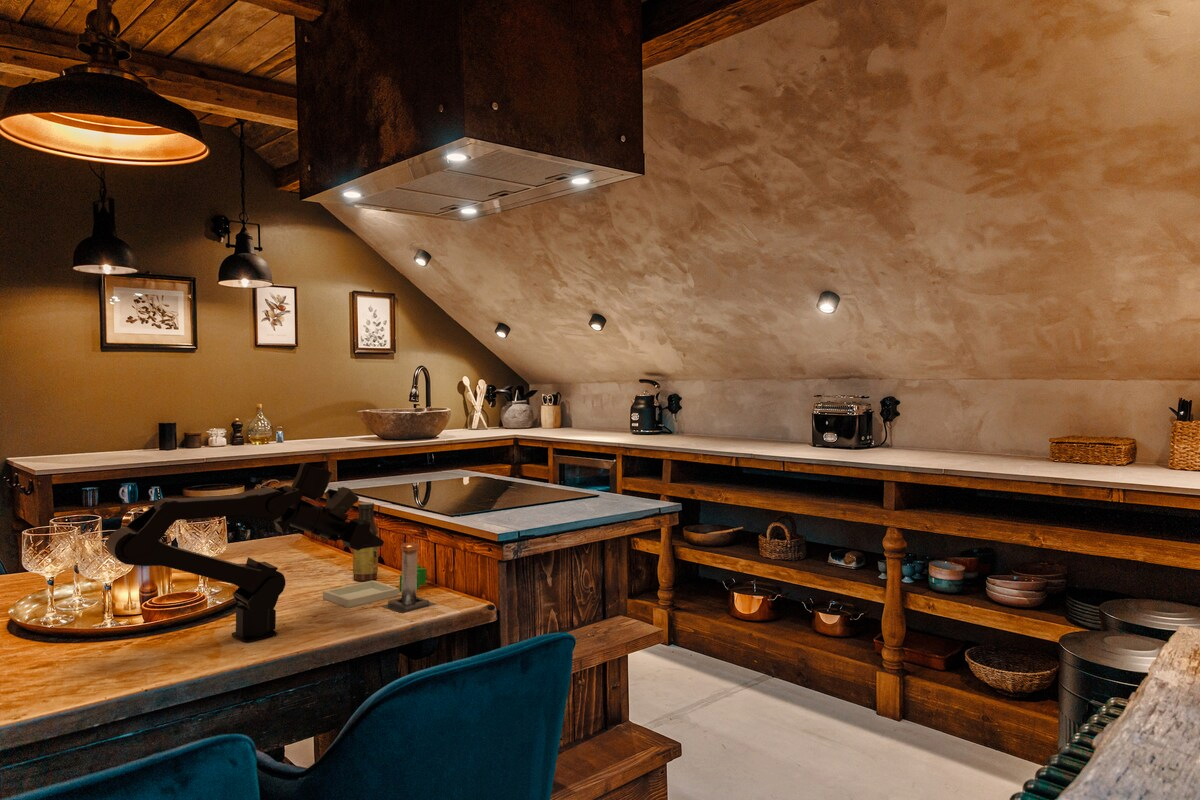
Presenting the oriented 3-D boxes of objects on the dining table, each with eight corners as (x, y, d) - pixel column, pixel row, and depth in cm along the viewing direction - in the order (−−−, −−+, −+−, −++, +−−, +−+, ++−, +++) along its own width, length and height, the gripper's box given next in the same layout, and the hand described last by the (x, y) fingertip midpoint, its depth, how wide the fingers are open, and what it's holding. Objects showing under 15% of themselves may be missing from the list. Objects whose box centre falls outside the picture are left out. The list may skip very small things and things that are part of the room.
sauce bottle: (378, 581, 193) (380, 504, 193) (353, 582, 191) (354, 505, 190) (376, 574, 199) (378, 500, 199) (351, 576, 197) (353, 501, 196)
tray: (348, 609, 168) (348, 600, 168) (322, 600, 175) (322, 591, 175) (398, 597, 179) (398, 588, 179) (372, 589, 186) (373, 580, 186)
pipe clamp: (414, 595, 182) (414, 576, 182) (399, 594, 183) (399, 575, 183) (430, 582, 193) (430, 565, 193) (416, 581, 194) (416, 564, 194)
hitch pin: (406, 608, 169) (408, 547, 169) (395, 605, 172) (396, 544, 171) (421, 605, 172) (423, 544, 172) (410, 601, 175) (411, 541, 175)
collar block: (401, 615, 166) (401, 609, 165) (379, 607, 171) (380, 601, 171) (437, 605, 173) (437, 599, 173) (415, 598, 178) (415, 593, 178)
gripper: (348, 487, 153) (408, 512, 163) (308, 478, 166) (366, 501, 177) (325, 539, 150) (388, 561, 160) (287, 525, 163) (347, 546, 173)
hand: (372, 540), depth 168 cm, fingers open, 9 cm apart
